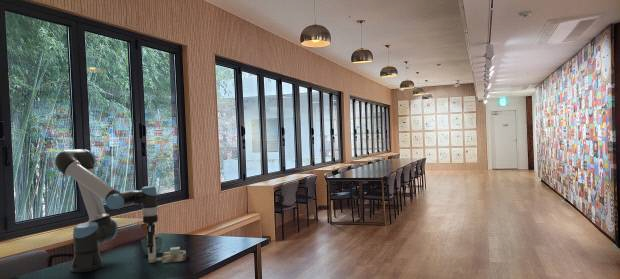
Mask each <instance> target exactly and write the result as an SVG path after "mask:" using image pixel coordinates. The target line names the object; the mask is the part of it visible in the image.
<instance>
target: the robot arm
mask: <svg viewBox="0 0 620 279" xmlns="http://www.w3.org/2000/svg"><path fill="white" fill-rule="evenodd" d="M95 163H96V157H95V154H94V153H93V152H92V151H91V150H88V149H85V148H84V149H83V148H79V149H77V148H76V149H65V150H62V151H60V152H59V153H58V154H57V155H56V157H55V160H54V164H55V166H56V168H57V170H58V171H59V172H60V173H61V174H63V175H64V176H66V177H67V178H69V177H70V178H73V180H75V181H76V182H77V185H78V188H79V191H80V194H81V197H82V200H83V203H84V206H85V209H86V212H87V215H88V221H86V222H81V223H78V224H77V225H75V226H74V227H73V233H72V237H73V238H72V239H73V253H74V254H73V259H72V262H71V265H70V271H71V272H72V273H87V272H88V273H89V272H92V271H97V270H99V269H102V268H103V267H104V262H103V261H104V260H103V258H102V257H101V253H100V250H99V248H100V247H99V245H101V244H104V243H108V242H110V241H111V240H113V239H114V238H116V237H117V234H118V232H119V226H118V225H119V224H118V223H117V221H115V220H114V219H112V218H111V216H110V214H109V213H106V210H105V206H104V203H103V201H105V204H106V206H107V208H109V209H110V210H119V209H121V208H124V207H129V206H133V205H142V215H143V216H142V222H143V224H147V226H146V235H147V236H148V246H147V247H148V253H149V259H154V246H153V235H155V227H156V224H155V223H157V222H158V221H159V216H158V211H159V207H158V198H157V195H158V194H157V188H156V186H154V185H149V186H146V185H145V186H143V187H142V188H141V189H140V190H130V189H128V190H124V191H122V192H120V191H118V190H117V189H116V188H114V187H113V186H111V185H110V184H109V183H107V182H105V181H104V180H102V179H101V178H100V177H98V176H97V175H95V174H94V171H95V168H94V167H95ZM102 200H103V201H102ZM155 236H156V235H155ZM155 243H156V241H155Z"/></svg>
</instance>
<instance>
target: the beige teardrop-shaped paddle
mask: <svg viewBox="0 0 620 279" xmlns="http://www.w3.org/2000/svg"><path fill="white" fill-rule="evenodd" d="M155 237H156V235H153V246H154V259H149V253H148V255H147V260H148V263H149V264H150V263H156V262H157V261H162V257H157V254H156V243H155ZM146 238H147V240H148V235H147V237H146ZM169 248H170V249H169V252H170V255H177V254H180V251H181V247H180V246H173V247H169Z"/></svg>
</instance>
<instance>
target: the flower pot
mask: <svg viewBox="0 0 620 279" xmlns="http://www.w3.org/2000/svg"><path fill="white" fill-rule="evenodd" d="M155 241H156V255H157V254H159V253H160V251H161V248H162V245H163V244H162V243H163V236H155ZM140 242H141V247H142V250H143V252H144V254H145V255H147V256H148V247H147V246H148V240H147V237H146V238H144V239H140Z"/></svg>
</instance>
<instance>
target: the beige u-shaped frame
mask: <svg viewBox="0 0 620 279" xmlns="http://www.w3.org/2000/svg"><path fill="white" fill-rule="evenodd" d="M162 254H163V255H162V256H161V258H162V260H161V262H162V264H167V263H168V264H169V263H175V262H185V261H187V250H186V249H183V250H180V254H177V255H170V251H165V252H162Z"/></svg>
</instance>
